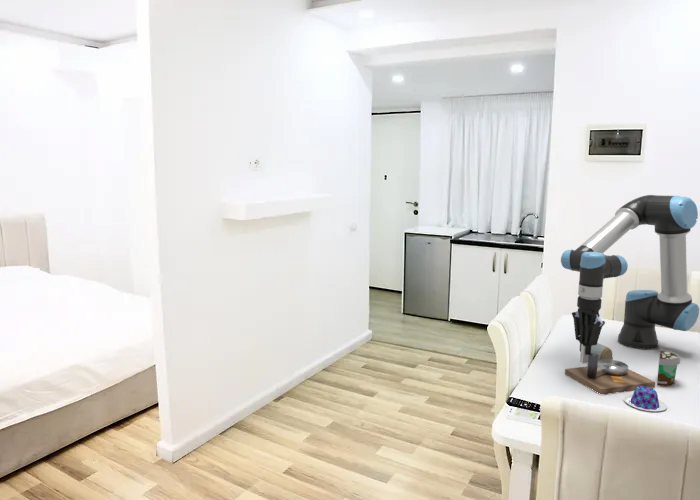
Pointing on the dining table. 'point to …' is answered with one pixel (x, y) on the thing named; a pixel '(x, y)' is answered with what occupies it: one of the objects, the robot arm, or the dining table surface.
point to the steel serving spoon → (604, 366)
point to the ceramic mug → (602, 351)
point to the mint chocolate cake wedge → (667, 367)
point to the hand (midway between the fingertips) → (584, 362)
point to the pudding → (645, 399)
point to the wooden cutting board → (609, 381)
